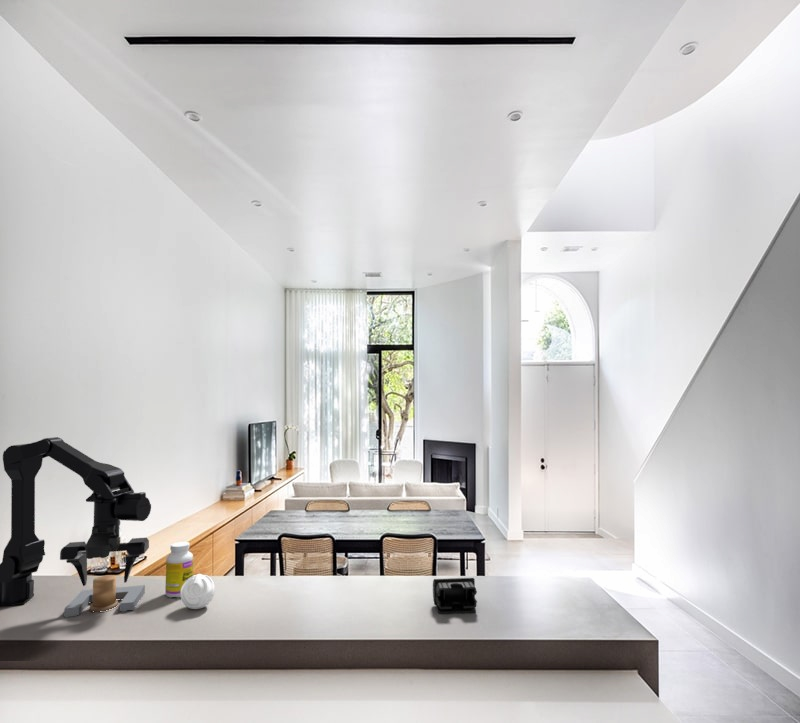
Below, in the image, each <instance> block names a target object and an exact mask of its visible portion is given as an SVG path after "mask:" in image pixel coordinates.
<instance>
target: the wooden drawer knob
mask: <svg viewBox="0 0 800 723" xmlns="http://www.w3.org/2000/svg"><path fill="white" fill-rule="evenodd" d="M116 588H117V576H116V575H110V574H109V575H108V574H107V575H101V576H98V577H96V578H94V579H93V580H92V590H93V603H90V604H89V611H90V610H91V611H94V612H93V613H95V612H99V613H101V612H100V611H106V610H109V609H112V608H114V607H116V606H117V605H118V606H119V600H116ZM118 606H117V607H118ZM117 607H116V608H117ZM91 611H90V612H91ZM106 612H107V611H106Z"/></svg>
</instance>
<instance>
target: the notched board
mask: <svg viewBox="0 0 800 723" xmlns="http://www.w3.org/2000/svg"><path fill="white" fill-rule="evenodd" d="M145 589H146V585H145V584H144V585H143V584H142V585H132V586H131V585H129V586H122V587H121V586H118V587H117V586H116V599H123V600H120V603H119V612H120V611H123V612H127V611H126V610H133V611H134V610H135V609H136V607H137V606H138V604H139V603H138V602H140V601H141V600H142V598H143V597H144V595H145V593H146V592H145V591H146V590H145ZM143 594H144V595H143ZM141 597H142V598H141ZM139 600H140V601H139ZM89 602H93V589H85V590H83V589H82V590H81V591H80V592H79V593H78V594H76V596H75V597H74V598H73V599H72V600H71V601H70V602H69V603H68V604H67V605H66V606H65V607H64V610H63V611H64V613H63V614H64V618H68V617H67V616H70V617H78V616H77V615H79V616H80V614H82V612H83V611H84V610H85V609H86V608H85V607H86V606H87V607H88V606H89V604H90V603H89ZM88 603H89V604H88ZM137 603H138V604H137ZM136 605H137V606H136ZM135 606H136V607H135ZM84 608H85V609H84ZM134 608H135V609H134ZM83 609H84V610H83Z"/></svg>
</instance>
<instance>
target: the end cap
mask: <svg viewBox="0 0 800 723" xmlns="http://www.w3.org/2000/svg"><path fill="white" fill-rule="evenodd" d="M475 584H476V581H475V578H474V577H460V578H459V577H457V578H456V577H453V578H451V577H450V578H434V579H433V580H432V597H433V598H432V599H433V605H434V606H435V608H436V610H437V613H438V615H456V614H458V615H460V614H464V615H465V614H475V613H477V609H476V607H477V603H478V600H477V599H476V595H477V593H478V591H477V588H476V586H475Z"/></svg>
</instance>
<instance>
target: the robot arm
mask: <svg viewBox="0 0 800 723" xmlns="http://www.w3.org/2000/svg"><path fill="white" fill-rule="evenodd" d="M47 457H49V458H51V459H52V460H54V461H56V462H57V463H59V464H61V465H62V466H64V467H65V468H67V469H69V470H70V471H71V472H74V473H75V474H76V475H78V476H80V477H81V479H82V481H83V483H84V485H85V486H86V487H87V488H88V489H90V490H91V491H92V493H91V494H90V495H89V496H88V497H86V499H85V502H86V503H87V502H89V503H93V526H92V528H91V535H90V537H89V538H88V540H87V541H73V542H71V541H70V542H68V543H67V544H65V546H63V547H62V548H61V549H60V551H59V560H60V561H65V562H66V563H67V564H71V565H72V566H74V569H75V570H76V572H77V574H78V577H79V579H80V581H81V585H82V586H83V587H85V586H86V585H87V581H88V560H91V559H97V558H98V559H99V558H100V559H105V558H108V557H109V556H110V553H112V552H113V553H114V552H125V551H126V553H127V555H126V556H125V567H124V574H123V582H124V583H127V582H128V579H129V577H130V574H131V571H132V568H133V566H134V564H135V561H136V559H137V558H139V557H140V556H141V555H144V554H145V553H147V551H148V550H149V548H150V540H149V539H148V537H136V538H135V537H133V538H131V539H130V540H129V541H128V542H121V536H120V526H121V521H132V522H133V521H134V522H144V521H146V520H147V519H148V517H149V515H150V514H151V511H152V510H151V509H152V504H151V502H150V499H149V498H148V497H147V496H146V495H147V494H146V492H144V491H143V492H142V491H141V492H135V491H134V489H133V488H132V485H131V484H130V483H129V481H128V480H127V478H126V477H125V472H124V470H123V469H122V468H120V467H117V466H114V465H112V464H109V463H103V462H100V461H97V460H94V458H91V457H90V456H88V455H86V454H85V453H83V452H82V451H80V450H78V449H77V448H75V447H73V446H71V445H70V444H68V443H67V442H65V441H64V440H63V438H61V437H58V436H57V437H56V436H55V437H45V438H43V439H40V440H37V441H34V442H31V443H24V444H23V443H22V444H15V445H9V446H8V447H7V448H6V449H5V450H4V451H3V453H2V463H3V470H4V472H5V473H6V474H7V476H8V477H9V479H10V482H11V487H10V488H11V493H10V494H11V496H10V497H11V500H10V501H11V503H10V506H11V508H10V511H11V512H10V513H11V514H10V515H11V516H10V519H11V521H10V522H11V523H10V525H11V526H10V527H11V528H10V538H9V540H8V542H7V544H6V545H5V547H4V549H3V554H2V561H1V563H0V607H5V606H4V605H10V606H14V605H13V604H21V605H24V603H25V602H26V601H27V602H28V601H30V599H31V598H34V596H35V593H34V591H35V589H34V587H35V586H34V584H35V580H34V579H33V573H37V572H38V570H39V567H40V565H41V563H42V562H43V559H44V556H46V552H45V544H46V543H45V542H46V541H45V540H44V539H39V537H38V536H37V534H36V532H35V531H36V530H35V527H36V526H35V525H36V524H35V523H36V520H35V519H36V514H35V513H36V506H35V505H36V503H35V502H36V490H35V489H36V477H37V475H38V473H39V471H40V470H41V469H42V465H43V460H44V459H45V458H47ZM27 602H26V603H27ZM26 603H25V604H26Z"/></svg>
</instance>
